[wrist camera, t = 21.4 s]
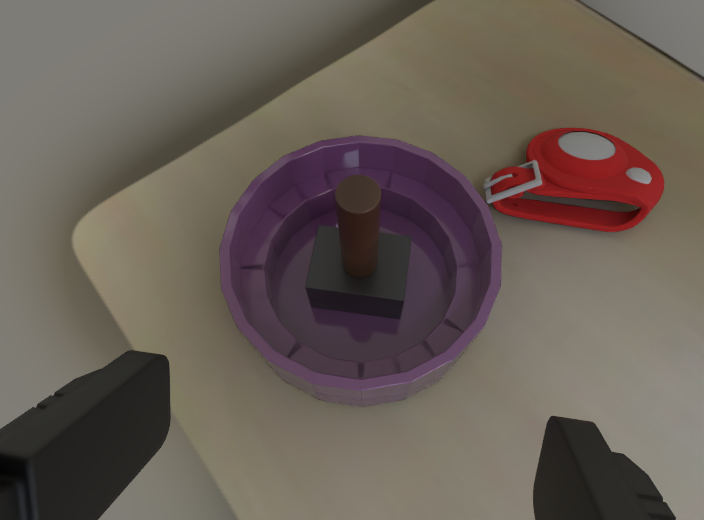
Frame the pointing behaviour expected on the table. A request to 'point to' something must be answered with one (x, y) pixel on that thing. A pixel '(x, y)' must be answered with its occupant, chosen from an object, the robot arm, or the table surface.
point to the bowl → (351, 328)
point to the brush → (358, 256)
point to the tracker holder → (578, 180)
